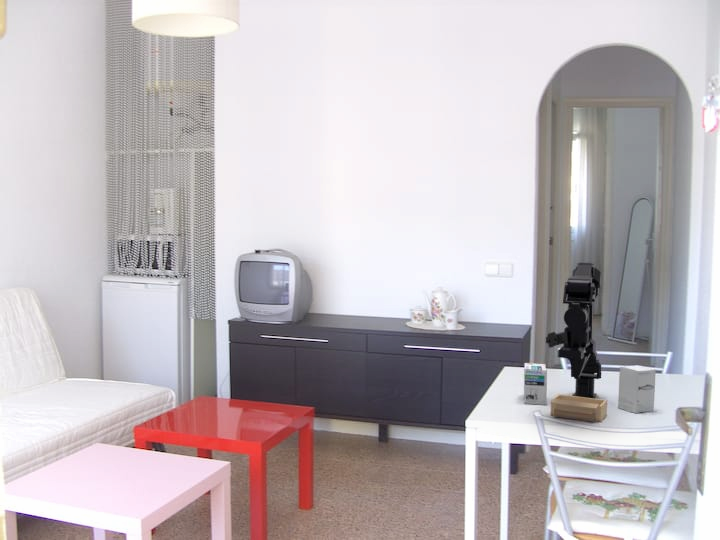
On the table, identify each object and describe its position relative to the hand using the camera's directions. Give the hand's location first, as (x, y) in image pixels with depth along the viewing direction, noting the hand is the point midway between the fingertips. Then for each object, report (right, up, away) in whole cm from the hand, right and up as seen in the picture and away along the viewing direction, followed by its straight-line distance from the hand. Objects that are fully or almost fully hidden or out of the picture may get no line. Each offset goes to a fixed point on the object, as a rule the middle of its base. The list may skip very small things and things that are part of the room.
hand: (576, 378), depth 213 cm
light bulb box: (-6, -10, +23) cm, 26 cm away
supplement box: (+21, -11, +13) cm, 27 cm away
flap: (-1, -7, 0) cm, 7 cm away
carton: (+2, -11, +5) cm, 13 cm away
